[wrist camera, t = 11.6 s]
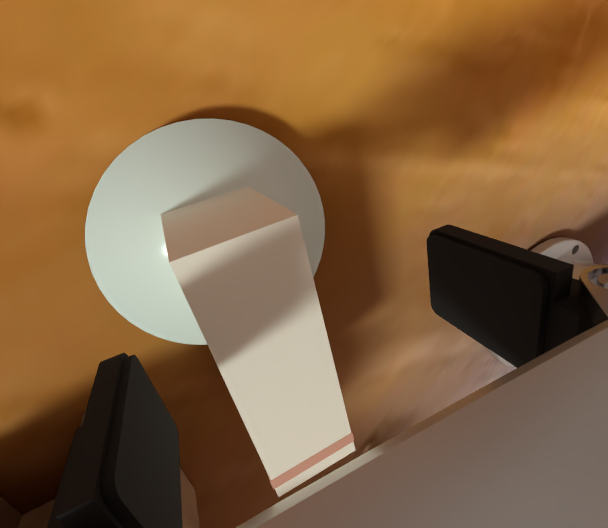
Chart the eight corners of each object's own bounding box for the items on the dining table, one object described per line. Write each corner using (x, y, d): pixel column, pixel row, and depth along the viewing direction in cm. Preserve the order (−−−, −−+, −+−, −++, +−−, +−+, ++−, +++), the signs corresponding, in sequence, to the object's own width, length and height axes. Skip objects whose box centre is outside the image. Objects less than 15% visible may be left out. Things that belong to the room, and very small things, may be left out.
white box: (248, 185, 16) (299, 214, 10) (304, 371, 21) (356, 449, 16) (159, 214, 14) (167, 263, 9) (243, 402, 20) (277, 498, 15)
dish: (290, 94, 16) (300, 91, 15) (330, 286, 21) (340, 295, 20) (33, 157, 13) (24, 160, 12) (152, 364, 18) (152, 379, 17)
